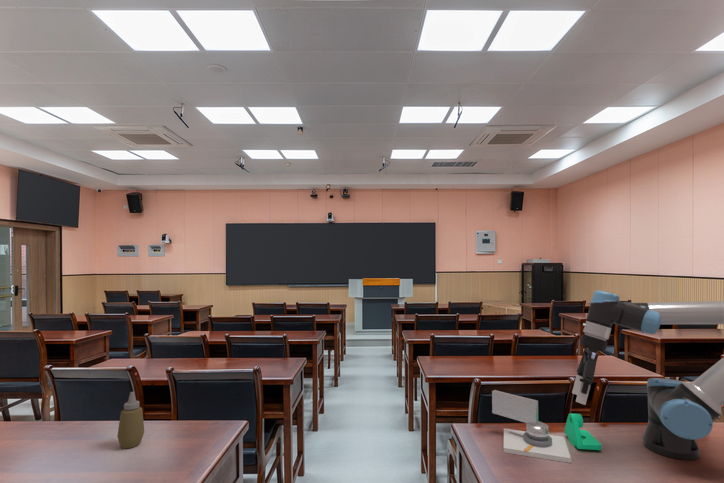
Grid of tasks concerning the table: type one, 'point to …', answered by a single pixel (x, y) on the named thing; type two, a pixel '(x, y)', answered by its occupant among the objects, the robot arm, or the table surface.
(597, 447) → the green mounting bracket
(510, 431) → the post base
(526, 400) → the brushed metal plate
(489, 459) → the table surface
